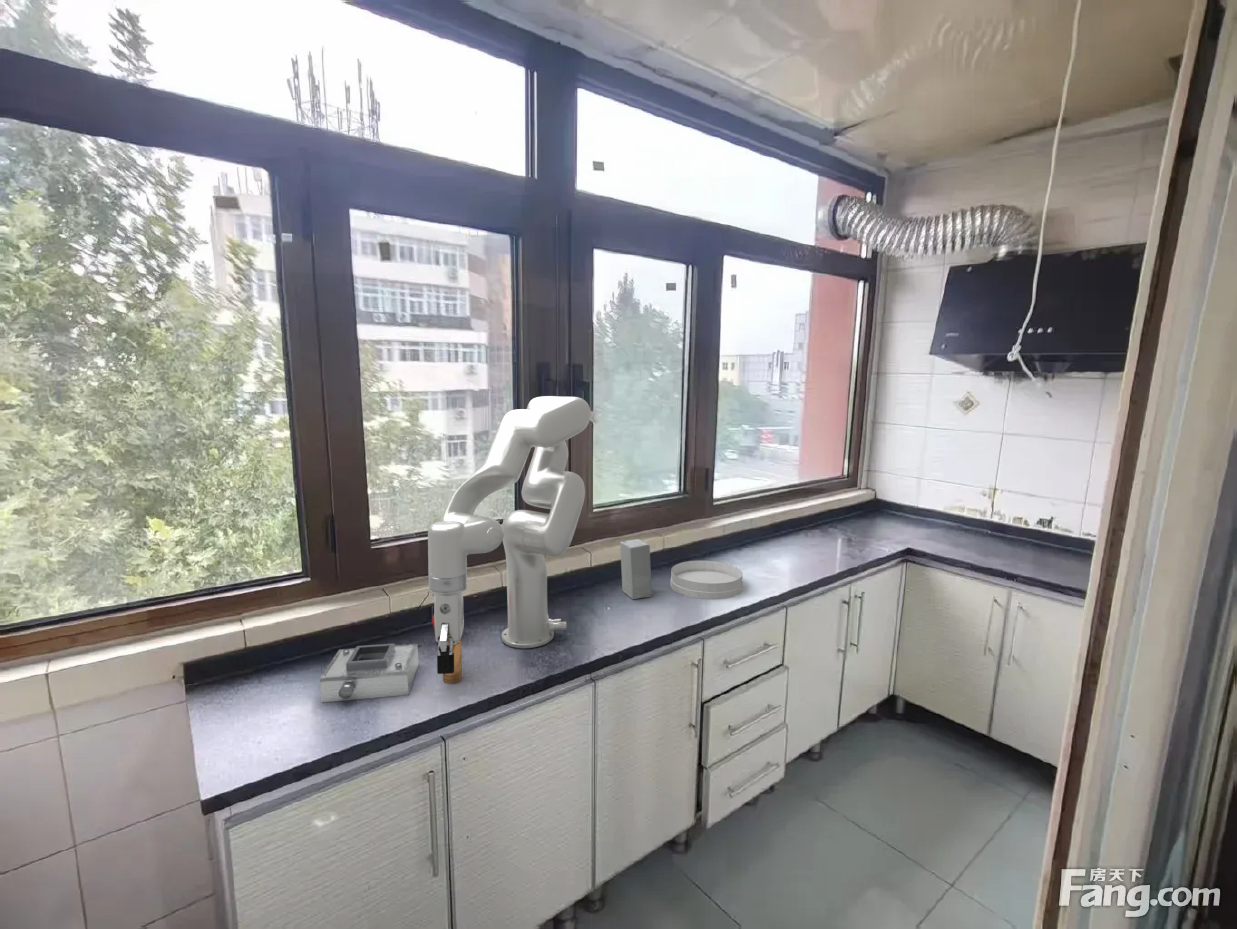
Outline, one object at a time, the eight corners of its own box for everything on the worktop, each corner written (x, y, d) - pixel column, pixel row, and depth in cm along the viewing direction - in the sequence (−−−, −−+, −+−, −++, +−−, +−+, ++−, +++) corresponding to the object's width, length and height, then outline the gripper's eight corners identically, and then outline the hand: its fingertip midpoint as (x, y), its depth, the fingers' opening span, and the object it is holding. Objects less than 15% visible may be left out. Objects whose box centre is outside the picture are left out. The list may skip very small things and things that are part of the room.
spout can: (463, 673, 120) (461, 630, 119) (461, 682, 116) (460, 638, 115) (444, 674, 119) (442, 631, 118) (441, 684, 115) (439, 640, 114)
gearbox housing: (418, 665, 123) (417, 637, 122) (406, 700, 109) (404, 669, 109) (340, 671, 120) (338, 643, 119) (318, 708, 107) (315, 676, 106)
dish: (705, 570, 189) (705, 556, 188) (757, 589, 171) (758, 573, 171) (655, 584, 175) (655, 568, 174) (707, 606, 158) (708, 589, 157)
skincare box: (652, 597, 164) (653, 544, 161) (629, 600, 161) (630, 547, 159) (640, 587, 171) (641, 537, 169) (619, 590, 169) (619, 539, 167)
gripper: (462, 595, 107) (463, 681, 109) (470, 569, 124) (470, 643, 125) (421, 597, 105) (423, 683, 107) (434, 570, 122) (435, 645, 124)
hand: (448, 661), depth 116 cm, fingers open, 9 cm apart
